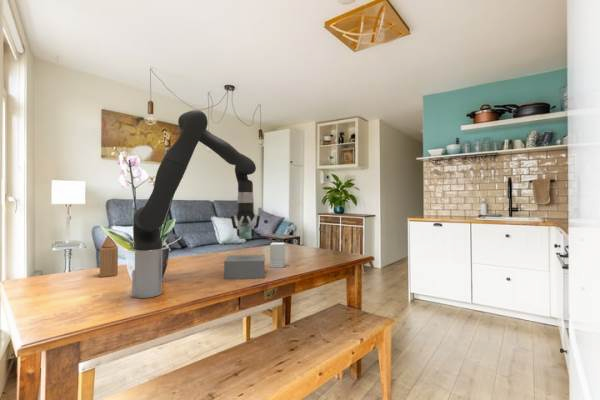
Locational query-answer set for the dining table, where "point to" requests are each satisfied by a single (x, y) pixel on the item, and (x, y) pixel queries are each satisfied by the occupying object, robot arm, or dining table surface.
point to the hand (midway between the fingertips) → (245, 236)
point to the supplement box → (277, 255)
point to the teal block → (245, 232)
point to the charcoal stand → (244, 266)
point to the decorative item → (108, 258)
